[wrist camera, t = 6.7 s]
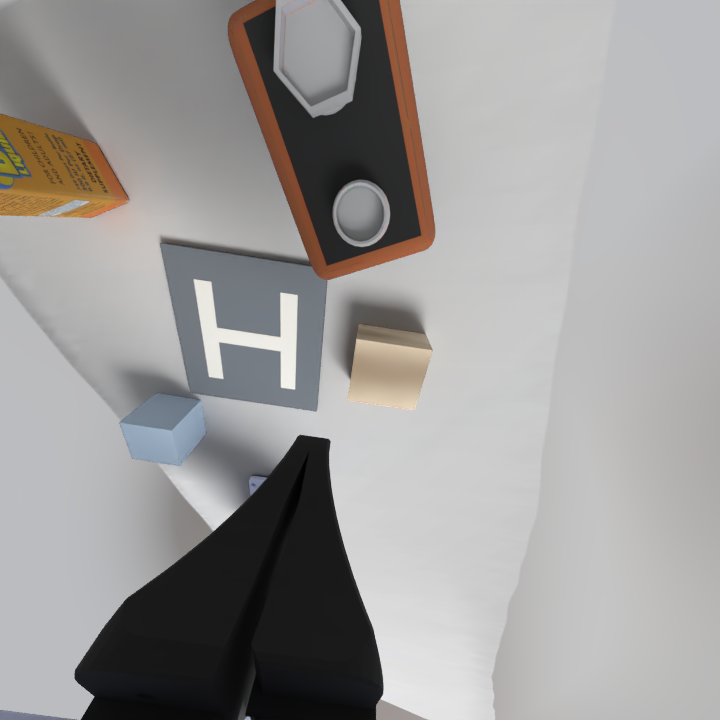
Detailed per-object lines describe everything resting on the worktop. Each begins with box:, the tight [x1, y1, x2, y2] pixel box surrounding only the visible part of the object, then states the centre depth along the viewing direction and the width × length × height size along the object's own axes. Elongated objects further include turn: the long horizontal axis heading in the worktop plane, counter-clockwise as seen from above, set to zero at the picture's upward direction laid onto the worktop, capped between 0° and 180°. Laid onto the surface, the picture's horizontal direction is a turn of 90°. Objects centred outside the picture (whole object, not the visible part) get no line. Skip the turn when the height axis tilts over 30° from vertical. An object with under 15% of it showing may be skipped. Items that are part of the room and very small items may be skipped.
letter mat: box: [160, 243, 327, 411], centre depth 20 cm, size 12×11×1 cm
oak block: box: [348, 324, 433, 410], centre depth 20 cm, size 5×5×3 cm
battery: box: [228, 0, 435, 280], centre depth 11 cm, size 4×7×10 cm, turn 17°
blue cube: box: [119, 393, 207, 466], centre depth 23 cm, size 4×4×4 cm
